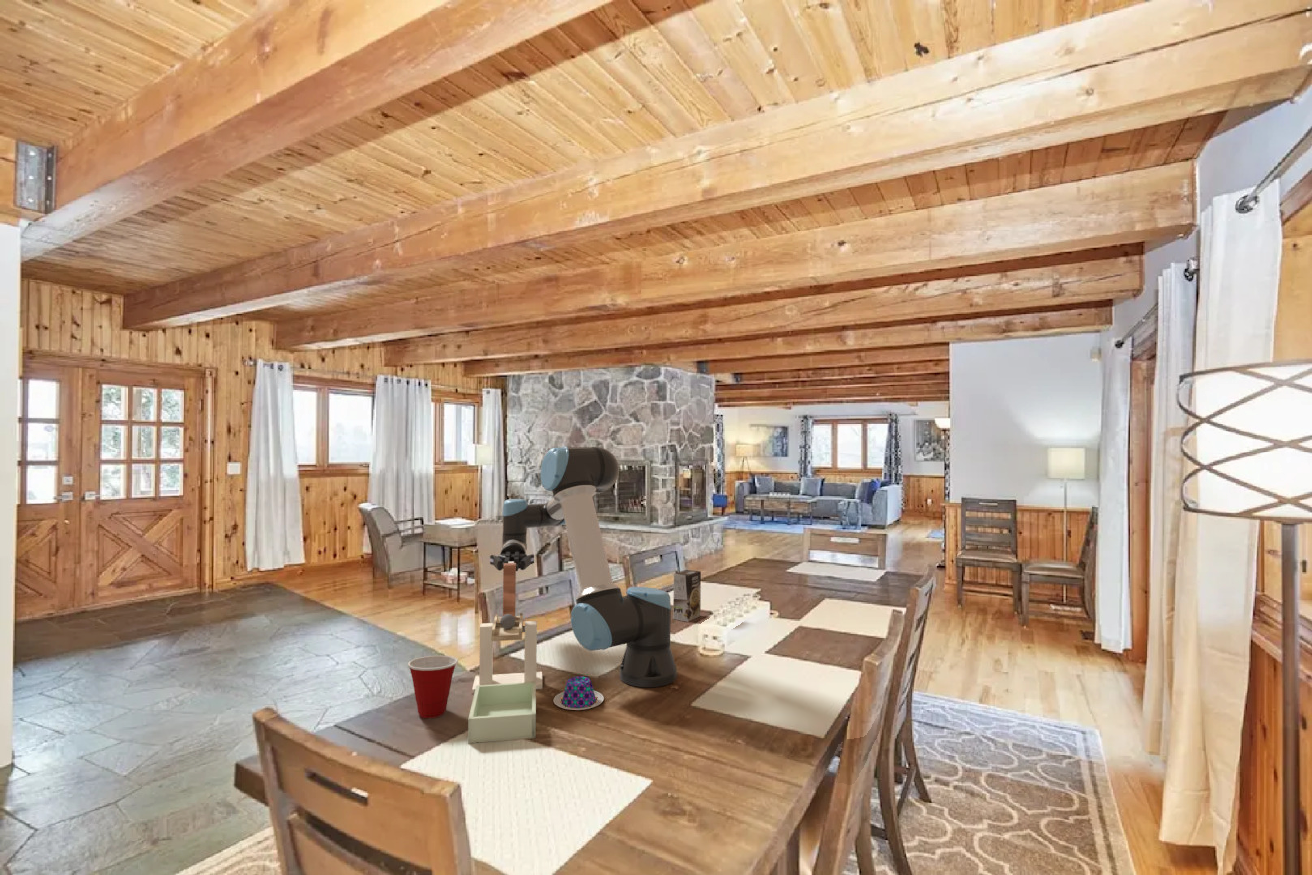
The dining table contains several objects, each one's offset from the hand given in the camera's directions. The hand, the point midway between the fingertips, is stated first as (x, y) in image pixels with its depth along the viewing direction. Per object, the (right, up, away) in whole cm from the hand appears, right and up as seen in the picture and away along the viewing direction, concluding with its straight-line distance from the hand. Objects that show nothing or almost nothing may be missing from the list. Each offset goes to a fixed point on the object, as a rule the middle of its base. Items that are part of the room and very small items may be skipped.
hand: (510, 571), depth 166 cm
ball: (+3, -9, -15) cm, 18 cm away
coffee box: (+50, -28, +53) cm, 78 cm away
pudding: (+21, -28, -17) cm, 39 cm away
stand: (+1, -27, -8) cm, 28 cm away
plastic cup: (-12, -27, -24) cm, 38 cm away
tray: (+5, -27, -29) cm, 40 cm away
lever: (+2, -12, -12) cm, 17 cm away
